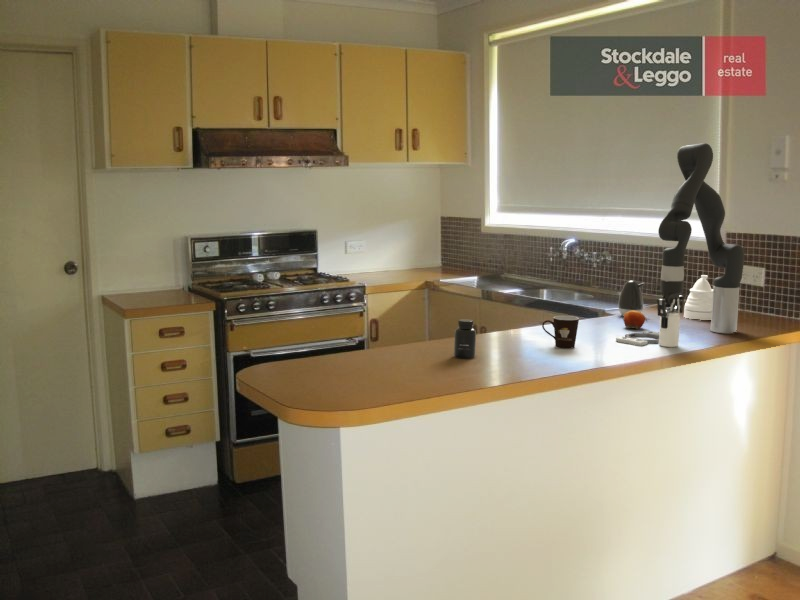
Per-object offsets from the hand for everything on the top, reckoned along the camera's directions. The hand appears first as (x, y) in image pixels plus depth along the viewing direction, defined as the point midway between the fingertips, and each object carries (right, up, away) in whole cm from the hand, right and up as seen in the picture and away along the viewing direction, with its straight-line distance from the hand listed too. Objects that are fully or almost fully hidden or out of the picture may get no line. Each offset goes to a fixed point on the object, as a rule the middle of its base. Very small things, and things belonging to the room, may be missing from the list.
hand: (669, 326), depth 291 cm
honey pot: (+31, +2, +58) cm, 66 cm away
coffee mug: (-38, -7, -1) cm, 38 cm away
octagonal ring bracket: (-5, -5, +11) cm, 13 cm away
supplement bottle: (-72, -9, -19) cm, 75 cm away
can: (0, -7, +1) cm, 7 cm away
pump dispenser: (+3, +2, +60) cm, 60 cm away
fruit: (-3, -2, +33) cm, 33 cm away
